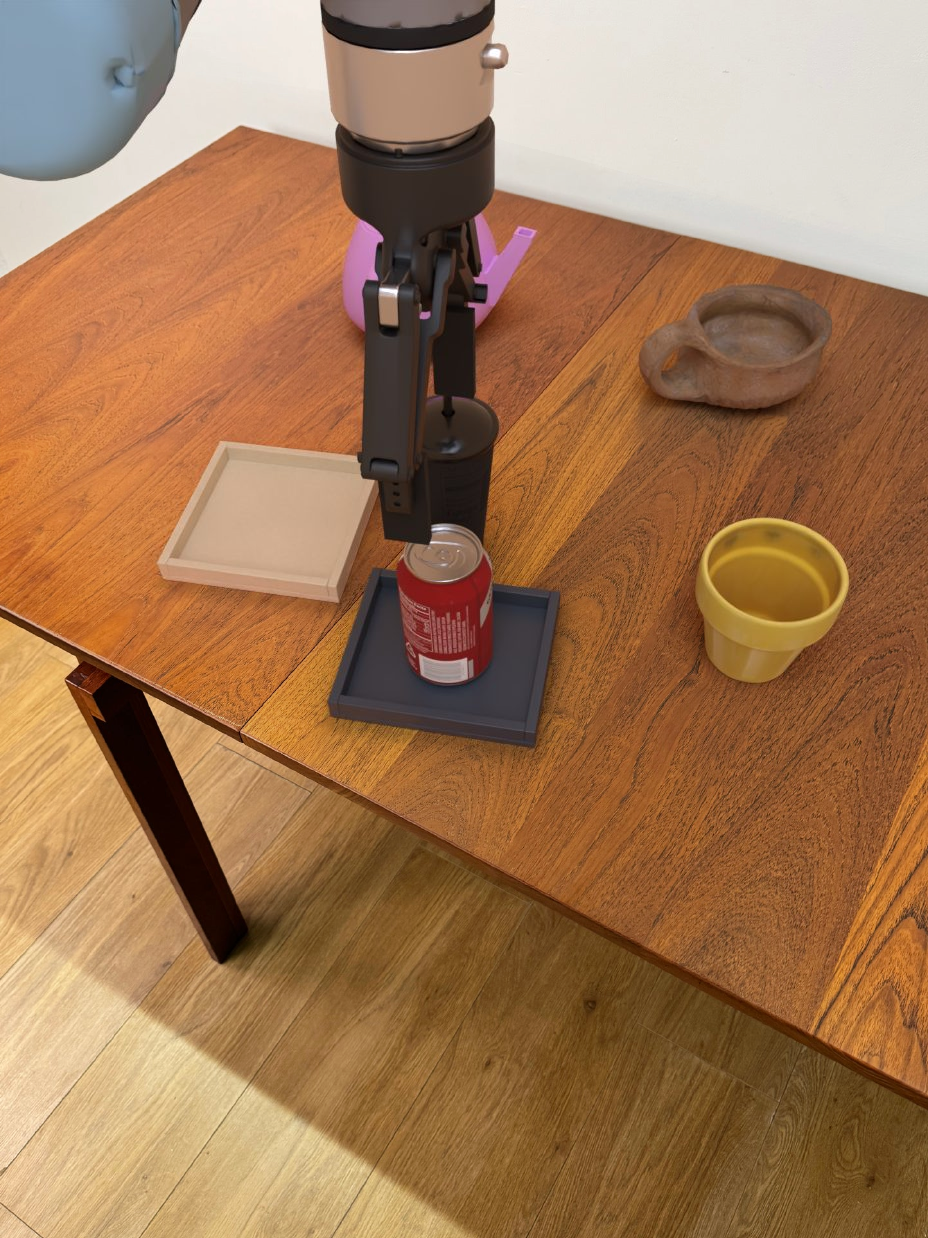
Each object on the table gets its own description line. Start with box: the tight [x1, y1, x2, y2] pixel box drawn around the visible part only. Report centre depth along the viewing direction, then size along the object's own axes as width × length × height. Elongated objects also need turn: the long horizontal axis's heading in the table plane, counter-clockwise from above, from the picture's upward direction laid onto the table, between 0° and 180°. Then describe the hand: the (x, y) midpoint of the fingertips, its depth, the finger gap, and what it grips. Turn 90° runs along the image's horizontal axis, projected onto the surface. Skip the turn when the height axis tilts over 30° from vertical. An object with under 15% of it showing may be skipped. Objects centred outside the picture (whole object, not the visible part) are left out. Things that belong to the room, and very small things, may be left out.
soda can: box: [396, 523, 493, 686], centre depth 73 cm, size 7×7×12 cm
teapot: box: [341, 212, 538, 333], centre depth 100 cm, size 20×20×15 cm
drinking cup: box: [421, 394, 500, 549], centre depth 78 cm, size 8×8×20 cm
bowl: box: [638, 283, 833, 410], centre depth 95 cm, size 18×14×10 cm
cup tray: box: [156, 440, 379, 604], centre depth 88 cm, size 16×16×2 cm
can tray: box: [327, 567, 561, 749], centre depth 78 cm, size 16×14×2 cm
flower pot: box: [694, 517, 850, 684], centre depth 75 cm, size 10×10×10 cm
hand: (433, 461), depth 63 cm, fingers open, 13 cm apart
